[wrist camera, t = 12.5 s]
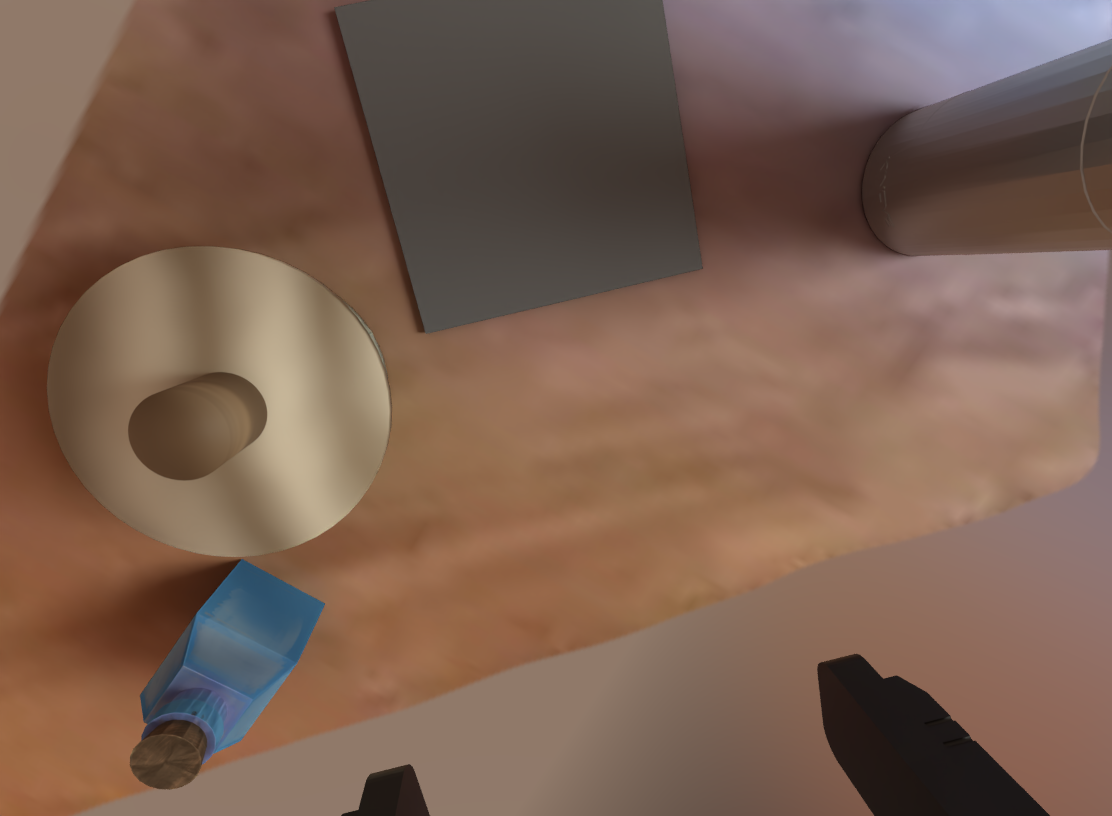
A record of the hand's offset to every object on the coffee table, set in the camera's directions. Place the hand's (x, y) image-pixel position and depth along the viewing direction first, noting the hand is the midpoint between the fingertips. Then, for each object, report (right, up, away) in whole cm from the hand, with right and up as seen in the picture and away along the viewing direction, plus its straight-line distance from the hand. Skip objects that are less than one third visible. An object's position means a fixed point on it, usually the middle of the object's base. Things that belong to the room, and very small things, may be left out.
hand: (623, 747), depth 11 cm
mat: (-3, +22, +23) cm, 32 cm away
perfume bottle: (-22, -8, +28) cm, 36 cm away
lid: (-18, +7, +19) cm, 27 cm away
